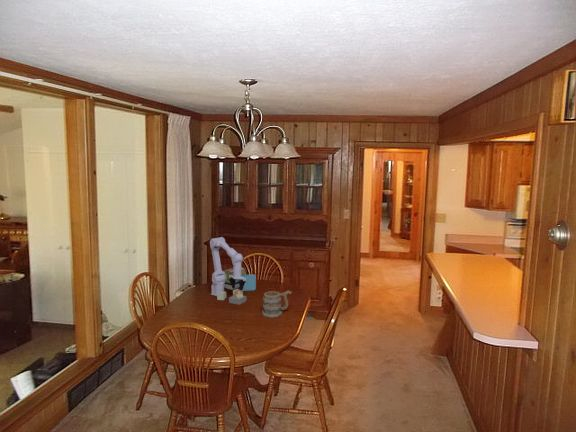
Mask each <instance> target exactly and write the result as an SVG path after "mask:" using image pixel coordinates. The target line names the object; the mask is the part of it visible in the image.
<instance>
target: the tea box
mask: <svg viewBox="0 0 576 432" xmlns="http://www.w3.org/2000/svg"><path fill="white" fill-rule="evenodd" d="M223 271H224V272H225V275H226V281H225V283H224V289H228V290H231V291H233V290H236V289H240V284H239V281H240V280H238V279H236V281H235V288H232V285H231V283H230V281H229V279H230V278H229V275H233V267H232V268H228V269H223ZM241 275H246V268H243V267H241Z"/></svg>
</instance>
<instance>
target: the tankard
mask: <svg viewBox="0 0 576 432" xmlns="http://www.w3.org/2000/svg"><path fill="white" fill-rule="evenodd" d="M292 293H293V292H292V291H290V290H287V291H284V292H279V291H275V290H274V291H272V290H271V291H266V292H264V293H263V297H262V301H263V304H262V307H263V310H262V311H261V314H262V315H263V317H267V318H278V317H280V316H281V315H282V314H283V311H284V310H287V309H288V306H289V300H288V297H287V295H292ZM282 297H283V301H284V306H282V304H281V301H282Z"/></svg>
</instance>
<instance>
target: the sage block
mask: <svg viewBox="0 0 576 432" xmlns="http://www.w3.org/2000/svg"><path fill="white" fill-rule="evenodd" d="M226 293H227V291H225V290H224V291H219V292H218V293H217V296H216V298H217V299H216V300H218V301H225V298H226V299H227V294H226Z"/></svg>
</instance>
